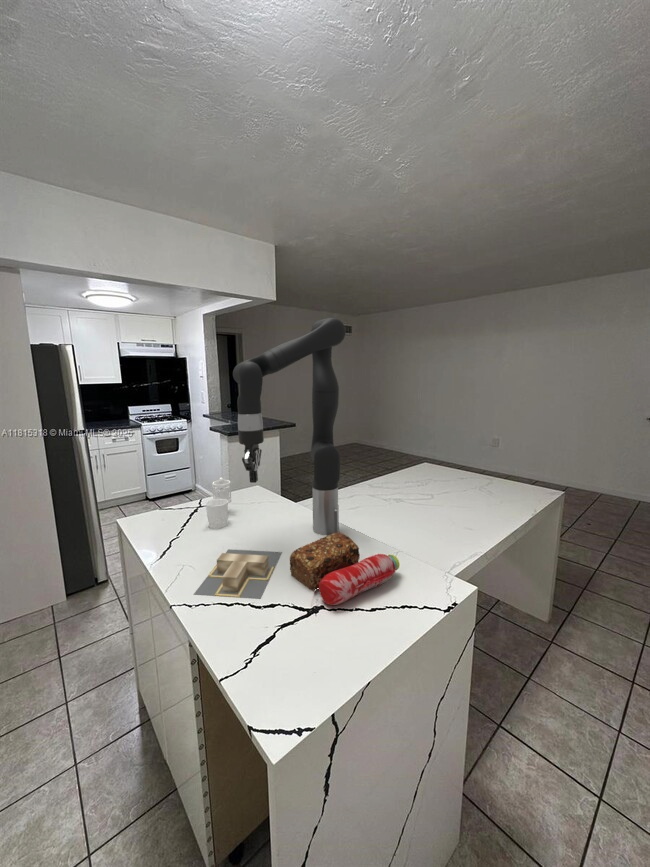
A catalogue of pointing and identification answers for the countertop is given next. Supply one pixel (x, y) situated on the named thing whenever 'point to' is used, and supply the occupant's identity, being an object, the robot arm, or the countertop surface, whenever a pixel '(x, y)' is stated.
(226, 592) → the board
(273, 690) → the countertop surface
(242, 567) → the t block
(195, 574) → the countertop surface
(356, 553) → the bread
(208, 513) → the white cup
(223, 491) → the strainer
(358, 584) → the water bottle
